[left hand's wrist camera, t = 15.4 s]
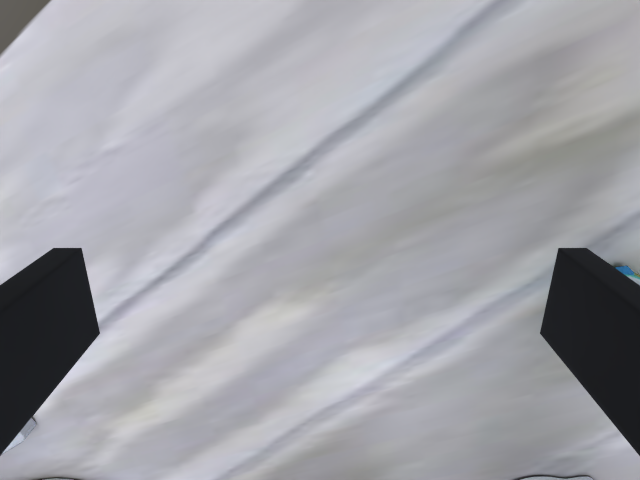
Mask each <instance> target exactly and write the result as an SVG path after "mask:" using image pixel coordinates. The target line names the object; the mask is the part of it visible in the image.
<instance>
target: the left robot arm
mask: <svg viewBox="0 0 640 480" xmlns="http://www.w3.org/2000/svg"><path fill="white" fill-rule="evenodd" d="M99 334H100V332H99V327H98V322H97V318H96V313H95V308H94V304H93V299H92V295H91V290H90V285H89V281H88V276H87V271H86V267H85V262H84V258H83V253H82V248H53V249H52V250H50V251H49V252H47V253H46V254H44V255H43V256H42V257H40V258H39V259H37V260H36V261H34V262H33V263H32V264H30V265H29V266H27V267H26V268H24V269H23V270H21V271H20V272H19V273H17V274H16V275H14V276H13V277H11V278H10V279H9V280H7V281H6V282H4V283H3V284H1V285H0V456H1V454H2V453H3V452H4V451H5V449H6V448H7V447H8V446H9V445H10V443H11V442H12V441H13V440H14V438H15V437H16V436H17V435H18V433H19V432H20V431H21V430H22V429H23V427H24V426H25V425H26V424H27V422H28V421H29V420H30V419H31V417H32V416H33V415H34V414H35V413H36V411H37V410H38V409H39V408H40V406H41V405H42V404H43V403H44V401H45V400H46V399H47V398H48V397H49V395H50V394H51V393H52V392H53V390H54V389H55V388H56V387H57V386H58V384H59V383H60V382H61V381H62V379H63V378H64V377H65V376H66V374H67V373H68V372H69V371H70V370H71V368H72V367H73V366H74V365H75V363H76V362H77V361H78V360H79V358H80V357H81V356H82V355H83V354H84V352H85V351H86V350H87V349H88V347H89V346H90V345H91V344H92V342H93V341H94V340H95V339H96V338H97V336H98V335H99ZM540 334H541V335H542V336H543V338H544V339H545V340H546V341H547V342H548V344H549V345H550V346H551V347H552V349H553V350H554V351H555V352H556V354H557V355H558V356H559V357H560V358H561V360H562V361H563V362H564V363H565V365H566V366H567V367H568V368H569V370H570V371H571V372H572V373H573V374H574V376H575V377H576V378H577V379H578V381H579V382H580V383H581V384H582V386H583V387H584V388H585V389H586V390H587V392H588V393H589V394H590V395H591V397H592V398H593V399H594V400H595V401H596V403H597V404H598V405H599V406H600V408H601V409H602V410H603V411H604V413H605V414H606V415H607V416H608V417H609V419H610V420H611V421H612V422H613V424H614V425H615V426H616V427H617V429H618V430H619V431H620V432H621V433H622V435H623V436H624V437H625V438H626V440H627V441H628V442H629V443H630V445H631V446H632V447H633V448H634V449H635V451H636V452H637V453H638V454H639V456H640V285H639V284H637V283H636V282H634V281H633V280H631V279H630V278H629V277H627V276H626V275H624V274H623V273H621V272H620V271H618V270H617V269H616V268H614V267H613V266H611V265H610V264H608V263H607V262H606V261H604V260H603V259H601V258H600V257H598V256H597V255H596V254H594V253H593V252H591V251H590V250H588V249H587V248H558V253H557V258H556V262H555V267H554V271H553V276H552V281H551V285H550V290H549V295H548V299H547V304H546V308H545V313H544V318H543V322H542V327H541V332H540Z"/></svg>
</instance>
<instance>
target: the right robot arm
mask: <svg viewBox="0 0 640 480" xmlns="http://www.w3.org/2000/svg"><path fill="white" fill-rule="evenodd" d="M521 480H593V479H592V478H591V477H587V476H583V477H575V478H568V479H563V478H555V477H545V476H540V477H530V478H525V479H521Z"/></svg>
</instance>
